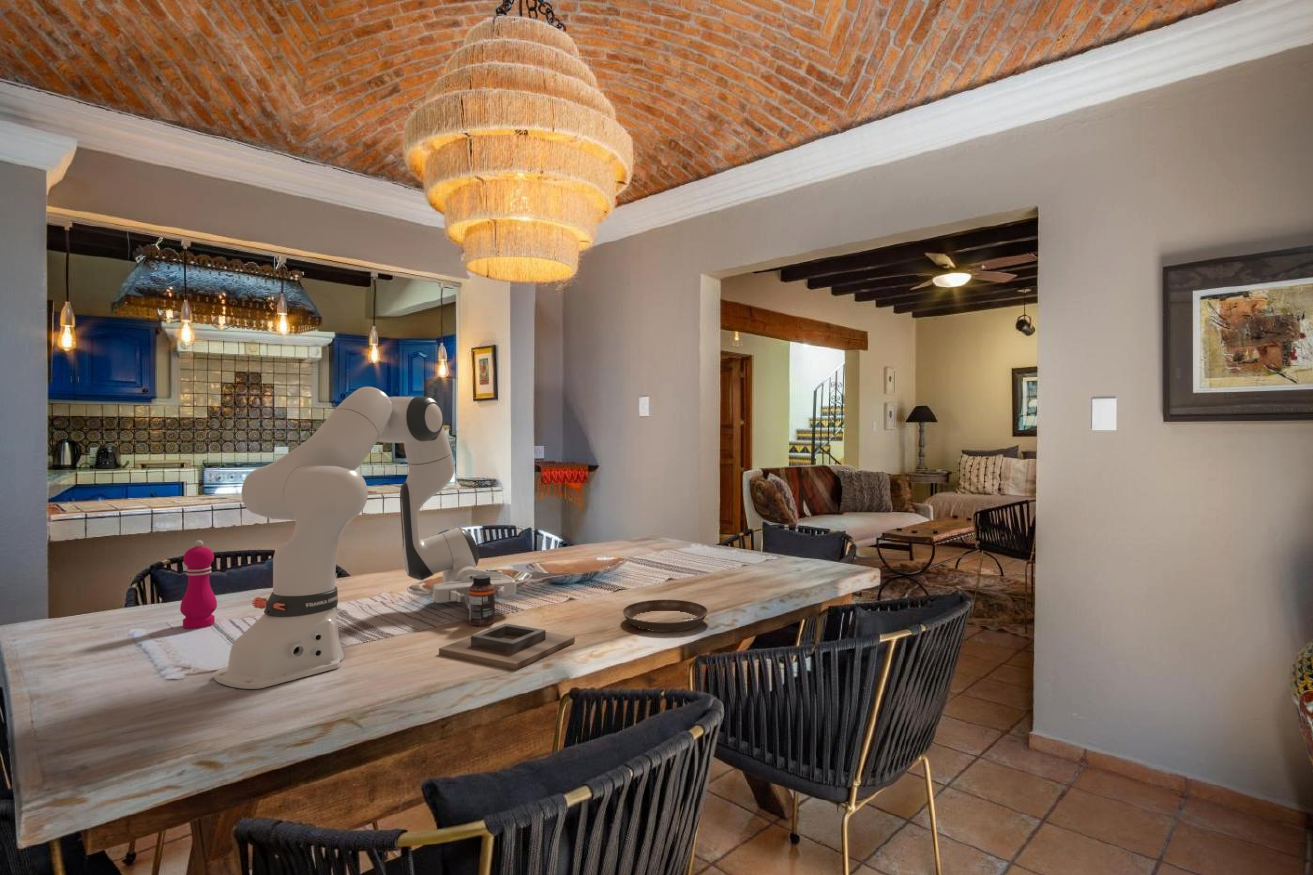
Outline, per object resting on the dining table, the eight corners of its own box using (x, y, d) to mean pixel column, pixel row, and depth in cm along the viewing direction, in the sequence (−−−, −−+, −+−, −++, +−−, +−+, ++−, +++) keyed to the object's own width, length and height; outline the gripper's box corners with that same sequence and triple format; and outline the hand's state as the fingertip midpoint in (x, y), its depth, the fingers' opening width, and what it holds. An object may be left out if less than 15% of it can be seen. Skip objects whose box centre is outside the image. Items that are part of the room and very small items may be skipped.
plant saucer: (655, 641, 154) (655, 626, 154) (606, 620, 170) (606, 606, 170) (725, 626, 166) (725, 612, 166) (673, 608, 183) (673, 595, 183)
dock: (516, 670, 134) (516, 653, 134) (438, 654, 143) (438, 638, 143) (574, 642, 151) (574, 627, 151) (502, 629, 161) (502, 616, 161)
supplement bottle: (482, 618, 170) (482, 572, 170) (500, 622, 167) (500, 575, 167) (463, 624, 165) (463, 576, 165) (481, 628, 162) (482, 579, 162)
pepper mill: (224, 621, 166) (224, 538, 166) (201, 630, 159) (201, 542, 159) (196, 620, 167) (196, 537, 167) (172, 628, 160) (172, 542, 160)
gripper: (426, 576, 174) (436, 587, 161) (507, 569, 183) (522, 579, 171) (426, 601, 174) (436, 614, 161) (507, 593, 183) (522, 605, 171)
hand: (481, 596), depth 166 cm, fingers open, 8 cm apart
